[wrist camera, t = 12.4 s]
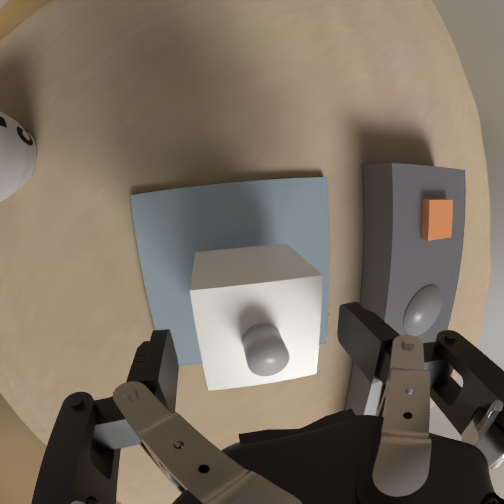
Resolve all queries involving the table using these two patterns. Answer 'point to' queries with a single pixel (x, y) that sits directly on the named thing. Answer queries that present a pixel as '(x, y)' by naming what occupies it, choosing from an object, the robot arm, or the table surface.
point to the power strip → (409, 255)
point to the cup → (15, 156)
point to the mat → (223, 240)
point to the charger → (256, 315)
